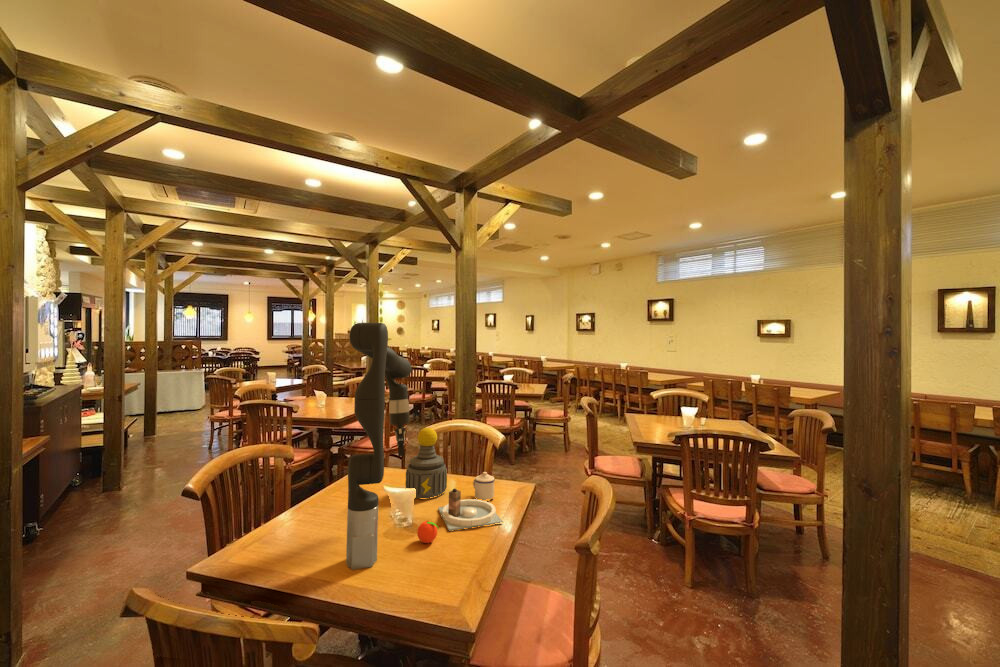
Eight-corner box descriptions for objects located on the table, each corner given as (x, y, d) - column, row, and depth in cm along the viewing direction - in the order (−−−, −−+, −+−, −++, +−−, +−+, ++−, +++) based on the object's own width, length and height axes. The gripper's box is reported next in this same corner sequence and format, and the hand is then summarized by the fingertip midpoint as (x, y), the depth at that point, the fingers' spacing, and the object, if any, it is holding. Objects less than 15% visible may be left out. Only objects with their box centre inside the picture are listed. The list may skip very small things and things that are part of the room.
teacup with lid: (498, 498, 180) (499, 472, 181) (483, 504, 174) (484, 477, 174) (480, 491, 189) (481, 466, 189) (465, 496, 182) (466, 470, 183)
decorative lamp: (406, 486, 194) (407, 424, 195) (445, 484, 198) (446, 423, 199) (404, 501, 176) (405, 432, 177) (447, 499, 179) (448, 431, 180)
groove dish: (502, 524, 154) (502, 516, 154) (449, 531, 147) (449, 523, 147) (486, 503, 174) (486, 496, 174) (438, 509, 167) (438, 502, 167)
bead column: (460, 515, 160) (460, 487, 160) (455, 518, 156) (456, 490, 157) (453, 513, 161) (453, 486, 161) (448, 516, 158) (448, 489, 158)
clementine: (443, 539, 142) (443, 518, 142) (434, 548, 135) (435, 527, 135) (422, 536, 144) (422, 516, 144) (413, 545, 137) (413, 524, 137)
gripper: (409, 411, 150) (411, 456, 149) (408, 409, 164) (410, 450, 162) (388, 413, 149) (390, 458, 147) (389, 411, 162) (391, 452, 160)
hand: (401, 454), depth 154 cm, fingers open, 8 cm apart
